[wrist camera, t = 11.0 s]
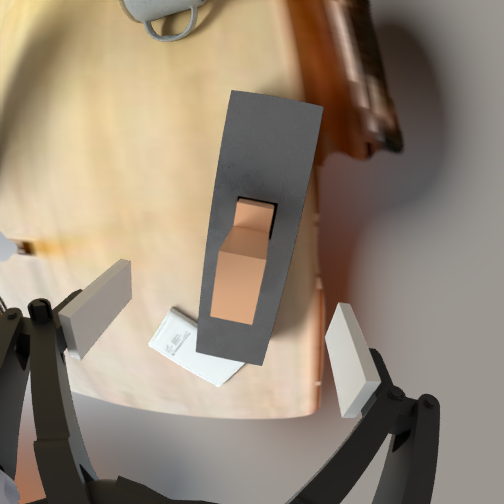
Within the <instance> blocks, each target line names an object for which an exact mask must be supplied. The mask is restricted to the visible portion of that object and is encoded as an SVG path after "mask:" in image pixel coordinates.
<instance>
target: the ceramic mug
mask: <svg viewBox="0 0 504 504" xmlns="http://www.w3.org/2000/svg"><path fill="white" fill-rule="evenodd" d="M119 1H120V5H121V7H122V9H123V11H124V12H125V14H126V15H127V16H128V17H129V18H130V19H131V20H133V21H135V22H137V23H144V26H145V29H146V31H147V33H148V34H149V35H150V36H151V37H152V38H154V39H156V40H158V41H163V42H170V41H176V40H179V39H182V38H184V37H185V36H187V35H188V34H189V33H190V32H191V31H192V30H193V28H194V27H195V25H196V21H197V7H199V6H202V5H204V4H205V0H119ZM188 9H191V10H192V13H191V20H190V23H189V25H188V26H187V28H186V29H185V31H184V32H183V33H181V34H177V35H171V36H169V35H166V36H159V35H157V34H156V32H155V31H154V29H153V28H152V25H151V21H154V20H157V19H160V18H162V17H164V16H167V15H170V14H173V13H177V12H181V11H184V10H188Z"/></svg>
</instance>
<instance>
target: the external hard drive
mask: <svg viewBox="0 0 504 504" xmlns="http://www.w3.org/2000/svg"><path fill="white" fill-rule="evenodd" d="M197 328H198V323H196V322H195V321H193V320H192V319H190V318H188V317H187V316H185V315H184V314H182V313H181V312H179V311H178V310H176V309H175V308H173V307H172V308H171V309H170V310H169V312H168V314H167V315H166V317H165V318H164V320H163V322H162V323H161V325H160V326H159V328H158V329H157V331H156V333H155V334H154V336H153V338H152V339H151V341H150V342H149V344H148V345H149V346H150V347H152V348H153V349H155V350H156V351H158V352H159V353H161V354H163V355H164V356H166V357H167V358H169V359H170V360H172V361H174V362H175V363H177V364H179V365H180V366H182V367H184V368H185V369H187V370H189V371H190V372H192V373H194V374H195V375H197V376H199V377H201V378H203V379H204V380H206V381H208V382H210V383H212V384H214V385H216V386H217V387H220V386H221V385H222V384H223V383H224V382H225V381H227V380H228V379H229V378H230V377H231V376H232V375H233V374H234V373H235V372H236V371H237V370H238V369H240V367H242V366H243V365H244V364H245V363H243V362H238V361H233V360H228V359H224V358H219V357H214V356H210V355H206V354H201V353H197V352H196V340H197Z"/></svg>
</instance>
